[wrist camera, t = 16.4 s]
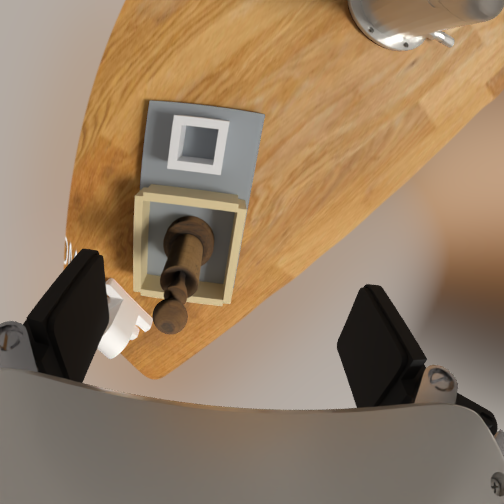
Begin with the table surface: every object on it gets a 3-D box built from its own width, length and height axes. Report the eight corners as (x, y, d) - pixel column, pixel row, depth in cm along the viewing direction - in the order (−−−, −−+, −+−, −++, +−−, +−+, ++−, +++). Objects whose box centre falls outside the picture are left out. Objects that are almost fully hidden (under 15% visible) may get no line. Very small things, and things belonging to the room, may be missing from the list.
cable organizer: (133, 333, 48) (119, 376, 39) (91, 292, 44) (68, 331, 35) (154, 320, 47) (142, 364, 38) (111, 276, 43) (88, 315, 34)
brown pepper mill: (217, 258, 42) (213, 352, 26) (171, 264, 42) (143, 357, 25) (210, 212, 39) (198, 289, 23) (161, 219, 39) (119, 296, 22)
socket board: (263, 114, 35) (269, 114, 30) (232, 286, 45) (233, 307, 40) (151, 100, 33) (140, 99, 28) (139, 274, 43) (130, 293, 39)
